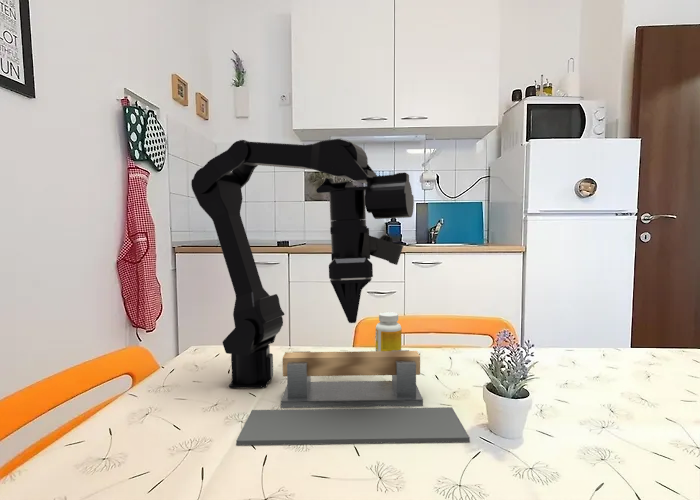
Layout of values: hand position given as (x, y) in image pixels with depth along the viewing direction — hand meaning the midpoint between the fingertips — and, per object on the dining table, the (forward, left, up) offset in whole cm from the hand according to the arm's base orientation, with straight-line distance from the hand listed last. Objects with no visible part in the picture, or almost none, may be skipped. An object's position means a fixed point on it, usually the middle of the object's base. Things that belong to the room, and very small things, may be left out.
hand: (351, 316), depth 68 cm
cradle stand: (0, 0, -13) cm, 13 cm away
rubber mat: (0, -11, -13) cm, 17 cm away
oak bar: (0, 0, -9) cm, 9 cm away
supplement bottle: (+8, +19, -13) cm, 24 cm away
